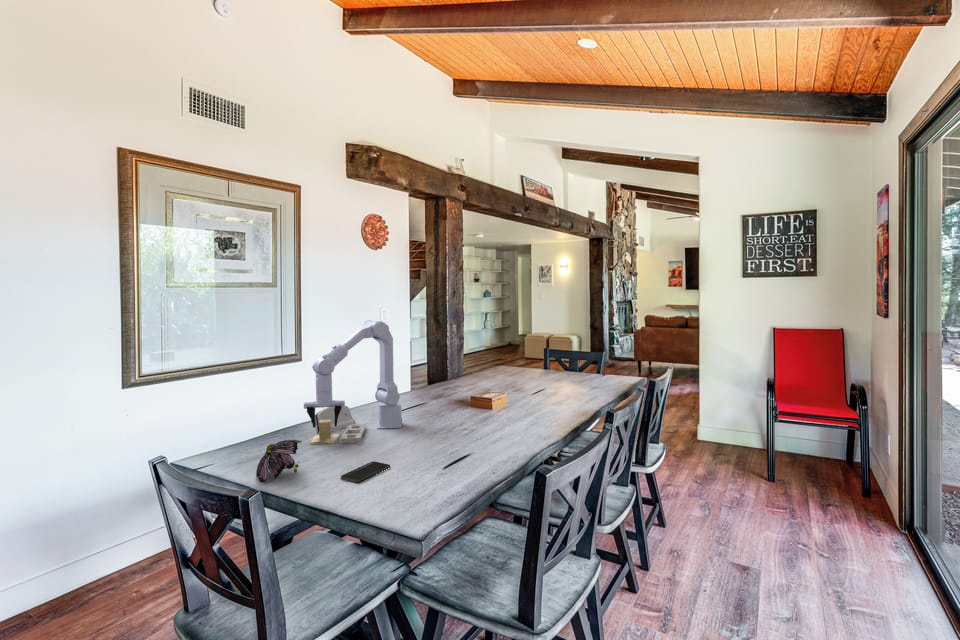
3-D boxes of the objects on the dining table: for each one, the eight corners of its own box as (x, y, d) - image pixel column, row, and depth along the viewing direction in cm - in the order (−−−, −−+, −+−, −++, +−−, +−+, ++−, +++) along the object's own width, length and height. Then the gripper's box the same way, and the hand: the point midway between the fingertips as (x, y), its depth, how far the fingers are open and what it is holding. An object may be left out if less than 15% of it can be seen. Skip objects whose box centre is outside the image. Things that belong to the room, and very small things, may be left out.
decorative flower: (258, 438, 157) (302, 424, 156) (273, 467, 161) (317, 454, 160) (239, 466, 143) (288, 451, 143) (257, 497, 147) (305, 483, 147)
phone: (339, 476, 148) (372, 460, 161) (339, 480, 148) (372, 464, 161) (359, 481, 144) (391, 465, 158) (359, 485, 145) (392, 468, 158)
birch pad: (339, 435, 191) (339, 433, 191) (335, 443, 182) (335, 441, 182) (315, 436, 190) (315, 434, 190) (310, 444, 181) (310, 442, 181)
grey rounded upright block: (323, 434, 193) (317, 409, 194) (316, 436, 196) (310, 411, 197) (356, 424, 207) (350, 401, 208) (349, 426, 210) (343, 403, 211)
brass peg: (330, 439, 184) (330, 422, 184) (319, 439, 183) (318, 422, 183) (331, 436, 188) (331, 419, 188) (320, 436, 187) (319, 419, 187)
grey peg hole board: (365, 429, 200) (365, 423, 200) (360, 443, 182) (360, 437, 182) (348, 429, 199) (348, 424, 199) (340, 443, 181) (340, 438, 181)
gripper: (344, 387, 190) (345, 422, 191) (305, 389, 187) (306, 424, 188) (343, 391, 183) (344, 427, 184) (302, 393, 180) (303, 429, 181)
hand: (325, 426), depth 186 cm, fingers open, 7 cm apart
